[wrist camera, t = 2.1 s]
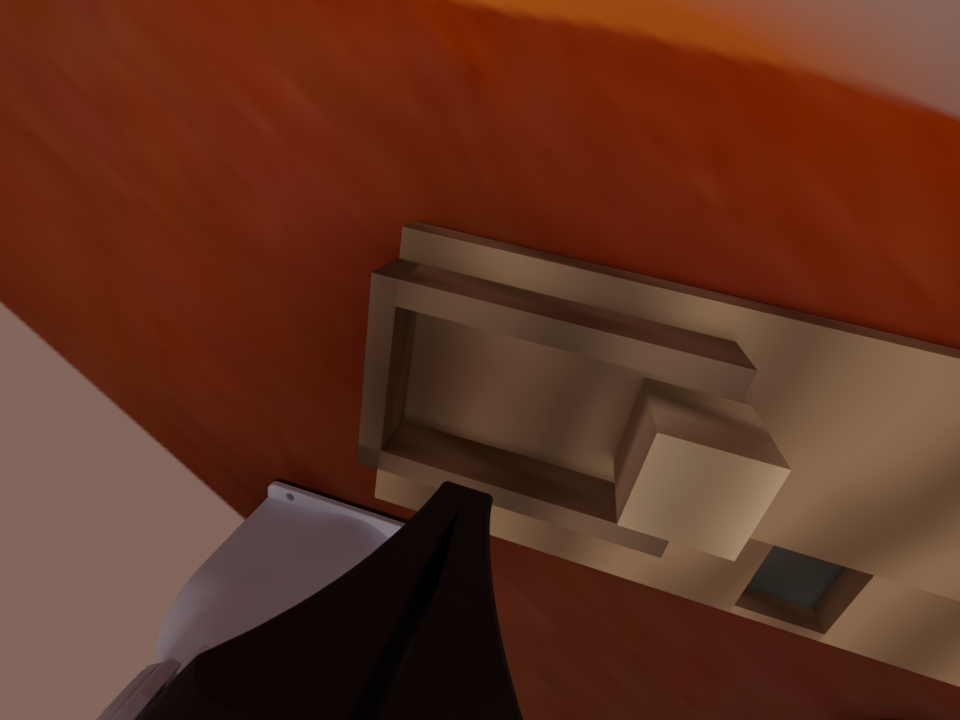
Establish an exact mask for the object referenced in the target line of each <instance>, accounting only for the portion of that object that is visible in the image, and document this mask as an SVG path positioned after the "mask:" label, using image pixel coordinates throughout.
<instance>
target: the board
mask: <svg viewBox="0 0 960 720" xmlns="http://www.w3.org/2000/svg"><path fill="white" fill-rule="evenodd" d="M399 258H400V259H404V260H408V261H412V262H416V263H420V264H424V265H428V266H433V267H437V268H441V269H445V270H449V271H453V272H457V273H461V274H465V275H469V276H473V277H477V278H481V279H485V280H489V281H493V282H497V283H501V284H505V285H509V286H513V287H517V288H521V289H525V290H529V291H533V292H538V293H542V294H546V295H550V296H554V297H558V298H562V299H566V300H570V301H574V302H578V303H582V304H586V305H590V306H594V307H598V308H602V309H606V310H610V311H614V312H618V313H622V314H626V315H630V316H634V317H638V318H642V319H647V320H651V321H655V322H659V323H663V324H667V325H671V326H675V327H679V328H683V329H687V330H691V331H695V332H699V333H703V334H707V335H711V336H715V337H719V338H723V339H727V340H731V341H735V342H737V344H738V345H739V346H740V348H741V349H742V350H743V352H744V353H745V354H746V356H747V357H748V358H749V360H750V361H751V362H752V364H753V365H754V366H755V368H756V369H757V370H758V371H757V373H756V375H755V377H754V379H753V381H752V383H751V385H750V387H749V389H748V391H747V392H746V394H745V396H744V398H743V397H739V396H735V395H731V394H728V393H724V392H720V391H716V390H712V389H708V388H705V387H701V386H697V385H693V384H689V383H686V382H682V381H678V380H674V379H670V378H667V377H663V376H659V375H655V374H651V373H648V372H644V371H640V370H636V369H632V368H629V367H625V366H621V365H617V364H613V363H610V362H606V361H602V360H598V359H594V358H590V357H587V356H583V355H579V354H575V353H571V352H568V351H564V350H560V349H556V348H552V347H549V346H545V345H541V344H537V343H533V342H530V341H526V340H522V339H518V338H514V337H511V336H507V335H503V334H499V333H495V332H492V331H488V330H484V329H480V328H476V327H472V326H469V325H465V324H461V323H457V322H453V321H450V320H446V319H442V318H438V317H434V316H431V315H427V314H423V313H419V312H417V315H416V323H415V330H414V338H413V346H412V354H411V362H410V370H409V377H408V385H407V393H406V401H405V409H404V417H403V420H405V421H408V422H411V423H415V424H418V425H421V426H425V427H428V428H432V429H435V430H438V431H442V432H445V433H448V434H452V435H455V436H458V437H462V438H465V439H469V440H472V441H475V442H479V443H482V444H485V445H489V446H492V447H496V448H499V449H502V450H506V451H509V452H512V453H516V454H519V455H522V456H526V457H529V458H533V459H536V460H539V461H543V462H546V463H549V464H553V465H556V466H559V467H563V468H566V469H570V470H573V471H576V472H580V473H583V474H586V475H590V476H593V477H596V478H600V479H603V480H607V481H610V482H613V483H615V479H614V461H613V457H614V455H615V452H616V450H617V447H618V445H619V442H620V439H621V437H622V434H623V432H624V429H625V427H626V424H627V422H628V419H629V417H630V414H631V412H632V409H633V406H634V404H635V401H636V399H637V396H638V394H639V391H640V389H641V386H642V384H643V381H644V379H645V377H647V378H650V379H654V380H658V381H662V382H666V383H669V384H673V385H677V386H681V387H684V388H688V389H692V390H696V391H700V392H703V393H707V394H711V395H715V396H719V397H722V398H726V399H730V400H734V401H737V402H741V403H745V404H749V405H752V407H753V409H754V410H755V412H756V414H757V415H758V417H759V418H760V420H761V422H762V423H763V425H764V426H765V428H766V430H767V431H768V433H769V434H770V436H771V438H772V439H773V441H774V443H775V444H776V446H777V447H778V449H779V451H780V452H781V454H782V455H783V457H784V459H785V460H786V462H787V463H788V465H789V467H790V468H791V472H790V474H789V475H788V477H787V478H786V480H785V482H784V483H783V485H782V486H781V488H780V490H779V491H778V493H777V494H776V496H775V498H774V499H773V501H772V502H771V504H770V506H769V507H768V509H767V510H766V512H765V514H764V515H763V517H762V518H761V520H760V522H759V523H758V525H757V526H756V528H755V530H754V531H753V533H752V534H751V536H750V538H749V539H748V541H747V542H746V544H745V546H744V547H743V549H742V550H741V552H740V554H739V555H738V557H737V558H736V560H735V561H732V560H729V559H725V558H722V557H719V556H716V555H712V554H709V553H706V552H703V551H699V550H696V549H693V548H690V547H686V546H683V545H680V544H677V543H674V542H670V541H669V543H668V545H667V547H666V549H665V551H664V553H663V555H662V557H661V558H659V557H656V556H652V555H649V554H646V553H643V552H640V551H637V550H633V549H630V548H627V547H624V546H621V545H617V544H614V543H611V542H608V541H605V540H602V539H598V538H595V537H592V536H589V535H586V534H583V533H579V532H576V531H573V530H570V529H567V528H563V527H560V526H557V525H554V524H551V523H548V522H544V521H541V520H538V519H535V518H532V517H529V516H525V515H522V514H519V513H516V512H513V511H509V510H506V509H503V508H500V507H497V506H494V505H492V508H491V515H490V535H493V536H496V537H499V538H502V539H505V540H508V541H511V542H514V543H517V544H520V545H523V546H527V547H530V548H533V549H536V550H539V551H542V552H545V553H548V554H551V555H554V556H557V557H561V558H564V559H567V560H570V561H573V562H576V563H579V564H582V565H585V566H588V567H591V568H594V569H598V570H601V571H604V572H607V573H610V574H613V575H616V576H619V577H622V578H625V579H628V580H632V581H635V582H638V583H641V584H644V585H647V586H650V587H653V588H656V589H659V590H662V591H666V592H669V593H672V594H675V595H678V596H681V597H684V598H687V599H690V600H693V601H696V602H700V603H703V604H706V605H709V606H712V607H715V608H718V609H721V610H724V611H727V612H730V613H733V614H737V615H740V616H743V617H746V618H749V619H752V620H755V621H758V622H761V623H764V624H767V625H771V626H774V627H777V628H780V629H783V630H786V631H789V632H792V633H795V634H798V635H801V636H805V637H808V638H811V639H814V640H817V641H820V642H823V643H826V644H829V645H832V646H835V647H838V648H842V649H845V650H848V651H851V652H854V653H857V654H860V655H863V656H866V657H869V658H872V659H876V660H879V661H882V662H885V663H888V664H891V665H894V666H897V667H900V668H903V669H906V670H910V671H913V672H916V673H919V674H922V675H925V676H928V677H931V678H934V679H937V680H940V681H944V682H947V683H950V684H953V685H956V686H959V687H960V349H956V348H952V347H947V346H943V345H939V344H935V343H930V342H926V341H922V340H918V339H913V338H909V337H905V336H901V335H896V334H892V333H888V332H884V331H879V330H875V329H871V328H867V327H862V326H858V325H854V324H850V323H845V322H841V321H837V320H833V319H828V318H824V317H820V316H816V315H811V314H807V313H803V312H799V311H794V310H790V309H786V308H782V307H777V306H773V305H769V304H765V303H760V302H756V301H752V300H748V299H743V298H739V297H735V296H731V295H726V294H722V293H718V292H714V291H709V290H705V289H701V288H697V287H692V286H688V285H684V284H680V283H675V282H671V281H667V280H663V279H658V278H654V277H650V276H646V275H641V274H637V273H633V272H628V271H624V270H620V269H616V268H611V267H607V266H603V265H599V264H594V263H590V262H586V261H582V260H577V259H573V258H569V257H565V256H560V255H556V254H552V253H548V252H543V251H539V250H535V249H531V248H526V247H522V246H518V245H514V244H509V243H505V242H501V241H497V240H492V239H488V238H484V237H480V236H475V235H471V234H467V233H463V232H458V231H454V230H450V229H446V228H441V227H437V226H433V225H429V224H424V223H420V222H414V223H411V224H408V225H406V226H403V227H402V237H401V247H400V256H399ZM437 489H438V488H436V487H433V486H430V485H427V484H424V483H420V482H417V481H414V480H411V479H408V478H405V477H401V476H398V475H395V474H392V473H389V472H386V471H382V470H379V469H378V470H377V479H376V489H375V498H378V499H381V500H384V501H388V502H391V503H394V504H397V505H400V506H403V507H406V508H409V509H412V510H415V511H419V509H420V508H421V507H422V506H423V505H424V504H425V503H426V502H427V501H428V500H429V499H430V498H431V497H432V495H433V494H434V493H435V492H436V491H437Z"/></svg>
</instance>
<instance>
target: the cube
mask: <svg viewBox="0 0 960 720" xmlns="http://www.w3.org/2000/svg"><path fill="white" fill-rule="evenodd" d="M613 461H614V479H615V498H616V516H617V525H619V526H622V527H625V528H628V529H631V530H635V531H638V532H641V533H644V534H648V535H651V536H654V537H657V538H661V539H664V540H667V541H670V542H674V543H677V544H680V545H683V546H686V547H690V548H693V549H696V550H699V551H703V552H706V553H709V554H712V555H716V556H719V557H722V558H725V559H729V560H732V561H735V560H736V558H737V557H738V555H739V554H740V552H741V550H742V549H743V547H744V546H745V544H746V542H747V541H748V539H749V538H750V536H751V534H752V533H753V531H754V530H755V528H756V526H757V525H758V523H759V522H760V520H761V518H762V517H763V515H764V514H765V512H766V510H767V509H768V507H769V506H770V504H771V502H772V501H773V499H774V498H775V496H776V494H777V493H778V491H779V490H780V488H781V486H782V485H783V483H784V482H785V480H786V478H787V477H788V475H789V474H790V472H791V468H790V467H789V465H788V463H787V462H786V460H785V459H784V457H783V455H782V454H781V452H780V451H779V449H778V447H777V446H776V444H775V443H774V441H773V439H772V438H771V436H770V434H769V433H768V431H767V430H766V428H765V426H764V425H763V423H762V422H761V420H760V418H759V417H758V415H757V414H756V412H755V410H754V409H753V407H752V405H749V404H745V403H741V402H737V401H734V400H730V399H726V398H722V397H719V396H715V395H711V394H707V393H703V392H700V391H696V390H692V389H688V388H684V387H681V386H677V385H673V384H669V383H666V382H662V381H658V380H654V379H650V378H647V377H645V379H644V381H643V384H642V386H641V389H640V391H639V394H638V396H637V399H636V401H635V404H634V406H633V409H632V412H631V414H630V417H629V419H628V422H627V424H626V427H625V429H624V432H623V434H622V437H621V439H620V442H619V445H618V447H617V450H616V452H615V455H614V457H613Z"/></svg>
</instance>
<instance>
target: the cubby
mask: <svg viewBox="0 0 960 720" xmlns="http://www.w3.org/2000/svg"><path fill="white" fill-rule="evenodd" d="M417 312H419V313H423V314H427V315H431V316H434V317H438V318H442V319H446V320H450V321H453V322H457V323H461V324H465V325H469V326H472V327H476V328H480V329H484V330H488V331H492V332H495V333H499V334H503V335H507V336H511V337H514V338H518V339H522V340H526V341H530V342H533V343H537V344H541V345H545V346H549V347H552V348H556V349H560V350H564V351H568V352H571V353H575V354H579V355H583V356H587V357H590V358H594V359H598V360H602V361H606V362H610V363H613V364H617V365H621V366H625V367H629V368H632V369H636V370H640V371H644V372H648V373H651V374H655V375H659V376H663V377H667V378H670V379H674V380H678V381H682V382H686V383H689V384H693V385H697V386H701V387H705V388H708V389H712V390H716V391H720V392H724V393H728V394H731V395H735V396H739V397H743V398H744V396H745V394H746V392H747V391H748V389H749V387H750V385H751V383H752V381H753V379H754V377H755V375H756V373H757V371H758V370H757V369H756V368H755V366H754V365H753V364H752V362H751V361H750V360H749V358H748V357H747V356H746V354H745V353H744V352H743V350H742V349H741V348H740V346H739V345H738V344H737V342H735V341H731V340H727V339H723V338H719V337H715V336H711V335H707V334H703V333H699V332H695V331H691V330H687V329H683V328H679V327H675V326H671V325H667V324H663V323H659V322H655V321H651V320H647V319H642V318H638V317H634V316H630V315H626V314H622V313H618V312H614V311H610V310H606V309H602V308H598V307H594V306H590V305H586V304H582V303H578V302H574V301H570V300H566V299H562V298H558V297H554V296H550V295H546V294H542V293H538V292H533V291H529V290H525V289H521V288H517V287H513V286H509V285H505V284H501V283H497V282H493V281H489V280H485V279H481V278H477V277H473V276H469V275H465V274H461V273H457V272H453V271H449V270H445V269H441V268H437V267H433V266H428V265H424V264H420V263H416V262H412V261H408V260H404V259H400V258H399V259H397V260H395V261H393V262H391V263H389V264H387V265H385V266H383V267H381V268H379V269H377V270H375V271H374V272H372V273H371V286H370V299H369V312H368V325H367V338H366V351H365V364H364V377H363V390H362V404H361V417H360V430H359V443H358V456H357V463H360V464H363V465H366V466H370V467H373V468H376V469H379V470H382V471H386V472H389V473H392V474H395V475H398V476H401V477H405V478H408V479H411V480H414V481H417V482H420V483H424V484H427V485H430V486H433V487H436V488H439V487H440V486H441V484H442V483H443V482H446V481H449V482H453V483H456V484H459V485H462V486H465V487H469V488H472V489H475V490H478V491H481V492H485V493H488V494H491V496H492V497H493V503H492V505H494V506H497V507H500V508H503V509H506V510H509V511H513V512H516V513H519V514H522V515H525V516H529V517H532V518H535V519H538V520H541V521H544V522H548V523H551V524H554V525H557V526H560V527H563V528H567V529H570V530H573V531H576V532H579V533H583V534H586V535H589V536H592V537H595V538H598V539H602V540H605V541H608V542H611V543H614V544H617V545H621V546H624V547H627V548H630V549H633V550H637V551H640V552H643V553H646V554H649V555H652V556H656V557H659V558H661V557H662V555H663V553H664V551H665V549H666V547H667V545H668V543H669V541H667V540H664V539H661V538H657V537H654V536H651V535H648V534H644V533H641V532H638V531H635V530H631V529H628V528H625V527H622V526H619V525H617V516H616V498H615V483H613V482H610V481H607V480H603V479H600V478H596V477H593V476H590V475H586V474H583V473H580V472H576V471H573V470H570V469H566V468H563V467H559V466H556V465H553V464H549V463H546V462H543V461H539V460H536V459H533V458H529V457H526V456H522V455H519V454H516V453H512V452H509V451H506V450H502V449H499V448H496V447H492V446H489V445H485V444H482V443H479V442H475V441H472V440H469V439H465V438H462V437H458V436H455V435H452V434H448V433H445V432H442V431H438V430H435V429H432V428H428V427H425V426H421V425H418V424H415V423H411V422H408V421H405V420H403V417H404V409H405V401H406V393H407V385H408V377H409V370H410V362H411V354H412V346H413V338H414V330H415V323H416V315H417Z"/></svg>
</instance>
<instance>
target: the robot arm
mask: <svg viewBox="0 0 960 720" xmlns="http://www.w3.org/2000/svg"><path fill="white" fill-rule="evenodd" d="M492 503H493V497H492V496H491V494H488V493H485V492H481V491H478V490H475V489H472V488H469V487H465V486H462V485H459V484H456V483H453V482H449V481H446V482H443V483H442V484H441V486H440V487H439V488H438V489H437V491H436V492H435V493H434V494H433V495H432V497H431V498H430V499H429V500H428V501H427V502H426V503H425V504H424V505H423V506H422V507H421V508H420V509H419V511H418V512H417V513H416V514H415V515H414V516H412V517H411V518H410V519H409V520H408V521H407V522H406V523H403V522H400V521H397V520H394V519H391V518H387V517H384V516H381V515H378V514H375V513H372V512H369V511H366V510H363V509H360V508H357V507H354V506H351V505H348V504H345V503H342V502H339V501H336V500H333V499H330V498H327V497H324V496H321V495H318V494H314V493H311V492H308V491H305V490H302V489H299V488H296V487H293V486H290V485H287V484H284V483H281V482H277V481H275V482H272V483H271V484H270V485H269V486H268V497H267V498H266V499H265V501H264V502H263V503H262V504H261V505H260V506H259V507H258V508H257V509H256V510H255V511H254V512H253V513H252V514H251V515H250V516H249V517H248V518H247V519H246V520H245V521H244V522H243V523H242V524H241V525H240V526H239V527H238V528H237V529H236V531H235V532H234V533H233V534H232V535H231V536H230V537H229V538H228V539H227V540H226V541H225V542H224V543H223V544H222V545H221V546H220V547H219V548H218V549H217V550H216V551H215V552H214V553H213V554H212V556H210V557H209V559H208V560H206V562H205V563H204V564H203V565H202V566H201V567H200V568H199V569H198V570H197V571H196V572H195V574H193V576H192V577H191V578H190V579H189V581H188V582H187V583H186V585H185V586H184V587H183V589H182V590H181V592H180V593H179V595H178V596H177V598H176V599H175V601H174V603H173V605H172V606H171V608H170V610H169V612H168V614H167V616H166V618H165V620H164V622H163V625H162V627H161V630H160V634H159V638H158V643H157V650H156V657H157V662H158V663H156V664H153V665H149V666H147V667H146V668H145V669H144V670H142V671H141V672H140V673H139V674H138V675H137V676H136V677H135V678H134V679H133V680H132V681H131V682H130V683H129V684H128V685H127V687H126V688H125V689H124V690H123V691H122V692H121V693H120V694H119V695H118V696H117V697H116V698H115V699H114V700H113V702H112V703H111V704H110V705H109V706H108V707H107V708H106V709H105V710H104V711H103V713H102V714H101V715H100V716H99V717H98V718H97V719H96V720H523V718H522V715H521V712H520V709H519V705H518V701H517V698H516V694H515V690H514V687H513V683H512V679H511V676H510V672H509V668H508V665H507V661H506V656H505V652H504V647H503V643H502V638H501V633H500V628H499V623H498V617H497V611H496V605H495V598H494V590H493V582H492V572H491V558H490V515H491V508H492Z"/></svg>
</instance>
